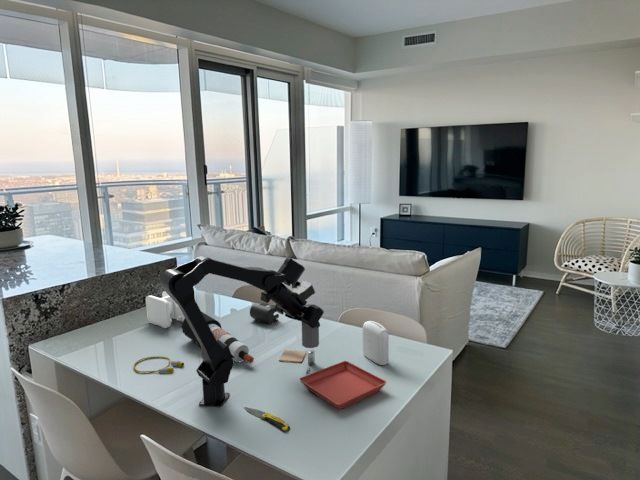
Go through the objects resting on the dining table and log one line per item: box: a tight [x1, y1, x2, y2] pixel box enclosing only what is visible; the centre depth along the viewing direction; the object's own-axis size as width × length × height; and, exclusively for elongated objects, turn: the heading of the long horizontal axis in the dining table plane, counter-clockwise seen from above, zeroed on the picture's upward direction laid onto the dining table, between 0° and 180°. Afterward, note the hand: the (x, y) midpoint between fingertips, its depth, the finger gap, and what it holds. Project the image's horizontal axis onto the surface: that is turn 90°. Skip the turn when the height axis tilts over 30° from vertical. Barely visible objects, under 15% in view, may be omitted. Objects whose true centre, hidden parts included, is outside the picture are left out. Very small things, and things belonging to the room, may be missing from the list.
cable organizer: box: [145, 290, 185, 329], centre depth 179 cm, size 15×11×12 cm
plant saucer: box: [298, 360, 387, 410], centre depth 125 cm, size 18×18×3 cm
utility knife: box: [244, 406, 291, 433], centre depth 112 cm, size 16×1×3 cm
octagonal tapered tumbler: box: [301, 303, 320, 349], centre depth 139 cm, size 5×5×12 cm
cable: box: [181, 311, 255, 365], centre depth 150 cm, size 10×34×10 cm, turn 46°
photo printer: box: [362, 320, 390, 366], centre depth 142 cm, size 10×4×12 cm, turn 29°
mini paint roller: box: [305, 349, 316, 374], centre depth 138 cm, size 8×2×4 cm, turn 170°
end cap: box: [249, 302, 280, 325], centre depth 178 cm, size 10×7×7 cm
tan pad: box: [278, 349, 308, 363], centre depth 146 cm, size 8×8×1 cm
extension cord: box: [133, 355, 185, 375], centre depth 141 cm, size 12×16×2 cm
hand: (313, 323), depth 139 cm, fingers closed on octagonal tapered tumbler, 5 cm apart
